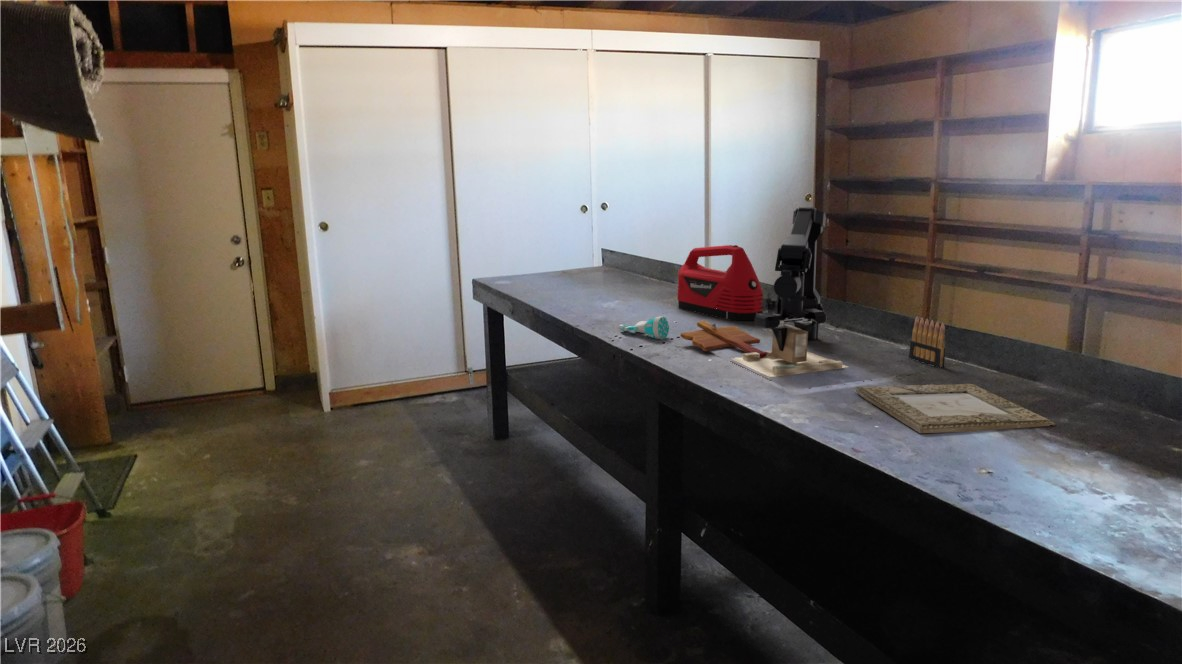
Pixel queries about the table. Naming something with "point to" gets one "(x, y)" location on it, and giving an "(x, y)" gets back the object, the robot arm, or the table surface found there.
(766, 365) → the birch notch board
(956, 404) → the picture frame
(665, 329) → the garden hose nozzle
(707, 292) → the power tool
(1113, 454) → the table surface
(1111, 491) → the table surface
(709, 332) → the sign
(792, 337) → the brown wooden box
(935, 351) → the ammunition clip
